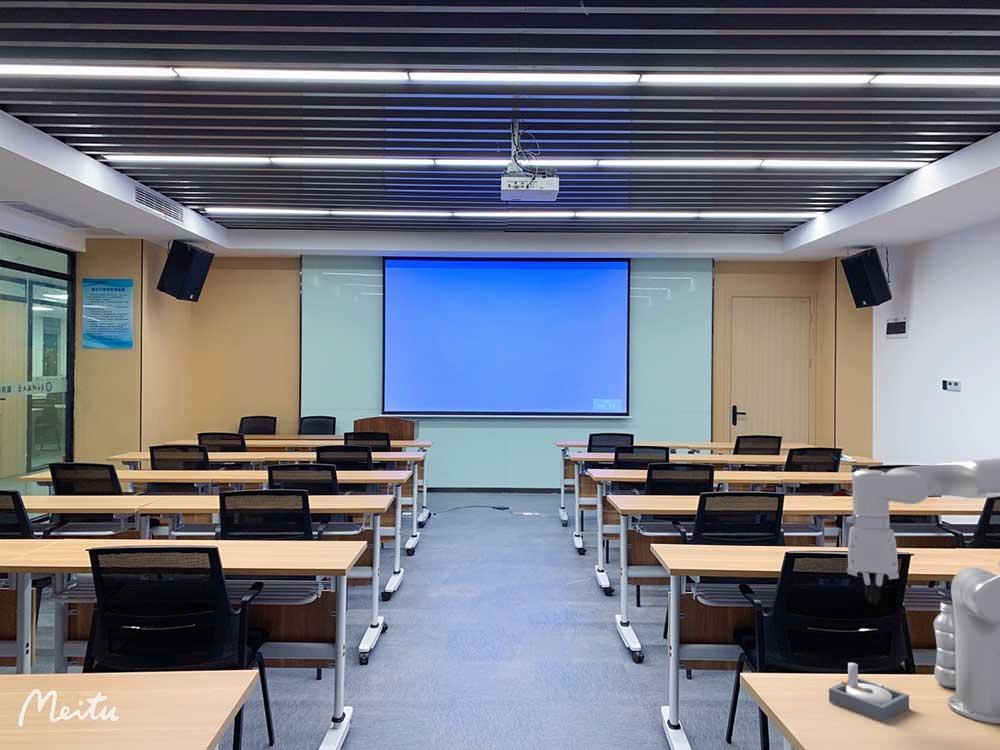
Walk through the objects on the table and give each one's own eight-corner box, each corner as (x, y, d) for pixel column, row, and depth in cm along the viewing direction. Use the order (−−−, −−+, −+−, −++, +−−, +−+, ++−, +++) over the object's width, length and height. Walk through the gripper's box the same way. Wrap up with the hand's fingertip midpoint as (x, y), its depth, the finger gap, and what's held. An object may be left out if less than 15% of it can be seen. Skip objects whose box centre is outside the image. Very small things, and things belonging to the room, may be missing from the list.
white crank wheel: (899, 701, 153) (898, 671, 153) (880, 712, 148) (880, 680, 148) (857, 687, 161) (857, 658, 161) (838, 697, 155) (838, 666, 155)
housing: (855, 689, 162) (855, 675, 163) (909, 708, 153) (908, 692, 153) (829, 701, 155) (829, 686, 156) (883, 722, 146) (883, 705, 146)
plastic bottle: (972, 693, 162) (971, 608, 162) (941, 690, 163) (939, 606, 164) (959, 682, 168) (958, 601, 169) (929, 679, 169) (928, 599, 170)
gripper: (836, 523, 159) (838, 601, 158) (909, 527, 153) (912, 610, 152) (835, 518, 166) (837, 594, 165) (906, 522, 160) (908, 601, 159)
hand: (873, 601), depth 158 cm, fingers closed
